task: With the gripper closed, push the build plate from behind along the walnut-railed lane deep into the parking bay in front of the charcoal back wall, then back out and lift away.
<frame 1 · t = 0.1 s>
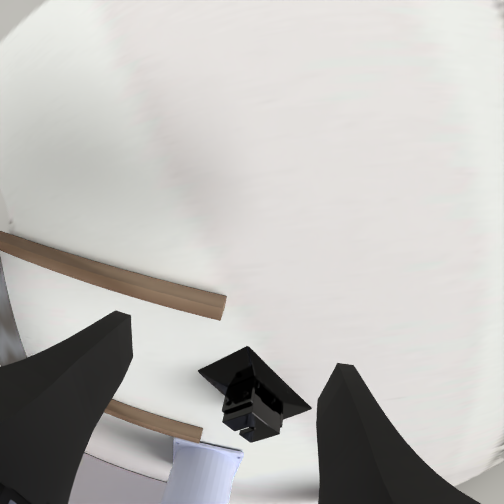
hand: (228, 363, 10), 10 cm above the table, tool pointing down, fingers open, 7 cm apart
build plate: (257, 386, 25), on the table
game console: (146, 479, 37), on the table
parking bay: (92, 344, 24), on the table
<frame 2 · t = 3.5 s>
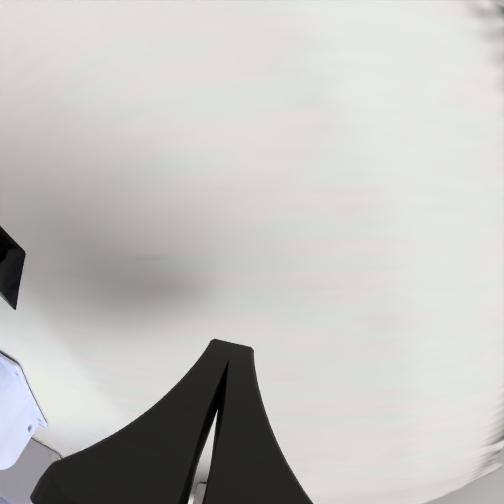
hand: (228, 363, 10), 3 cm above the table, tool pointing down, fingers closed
coffee box: (255, 493, 21), on the table
game console: (5, 425, 26), on the table
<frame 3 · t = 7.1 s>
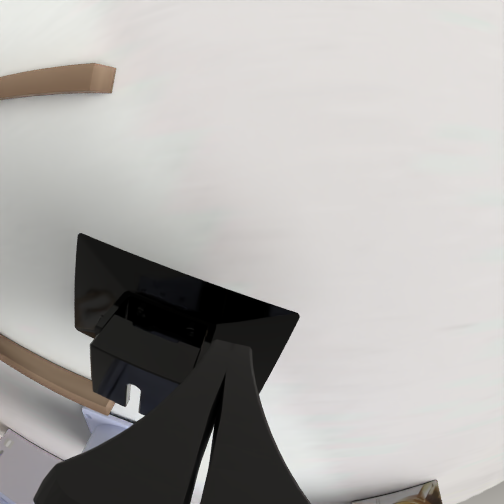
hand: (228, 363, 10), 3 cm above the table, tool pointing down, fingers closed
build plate: (172, 318, 14), on the table, touching gripper
coffee box: (392, 498, 21), on the table
game console: (87, 475, 26), on the table
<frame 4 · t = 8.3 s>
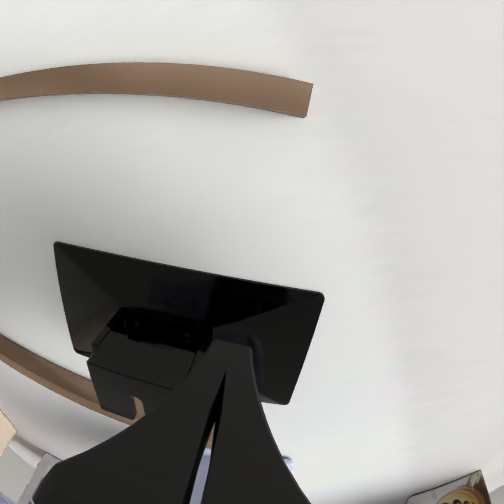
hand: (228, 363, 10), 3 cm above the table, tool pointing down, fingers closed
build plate: (173, 327, 14), on the table, touching gripper
coffee box: (441, 490, 21), on the table
game console: (138, 496, 26), on the table
parking bay: (35, 257, 13), on the table
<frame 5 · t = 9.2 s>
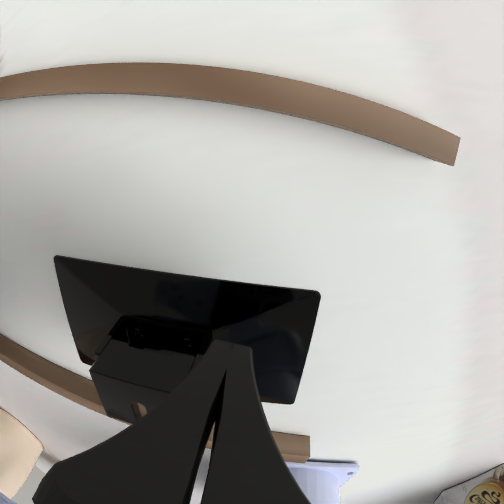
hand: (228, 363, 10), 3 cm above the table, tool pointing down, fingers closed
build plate: (174, 333, 14), on the table
coffee box: (468, 484, 21), on the table
water bottle: (20, 427, 24), on the table
parking bay: (112, 282, 13), on the table
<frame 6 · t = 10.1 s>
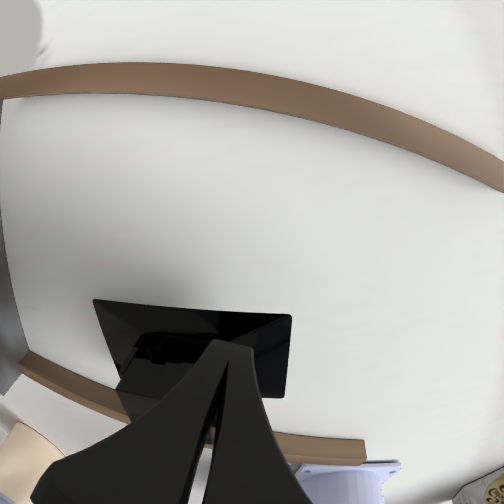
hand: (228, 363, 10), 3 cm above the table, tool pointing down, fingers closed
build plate: (194, 346, 14), on the table
coffee box: (485, 479, 21), on the table
water bottle: (42, 441, 24), on the table
parking bay: (189, 304, 13), on the table
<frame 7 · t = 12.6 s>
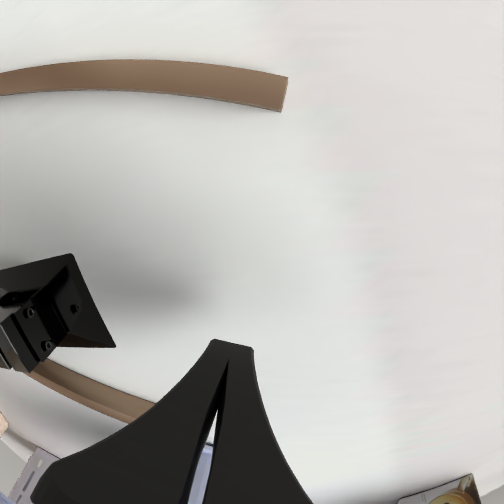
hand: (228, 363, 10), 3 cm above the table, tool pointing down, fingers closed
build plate: (46, 301, 15), on the table
coffee box: (432, 493, 21), on the table
game console: (128, 491, 26), on the table
parking bay: (24, 250, 13), on the table
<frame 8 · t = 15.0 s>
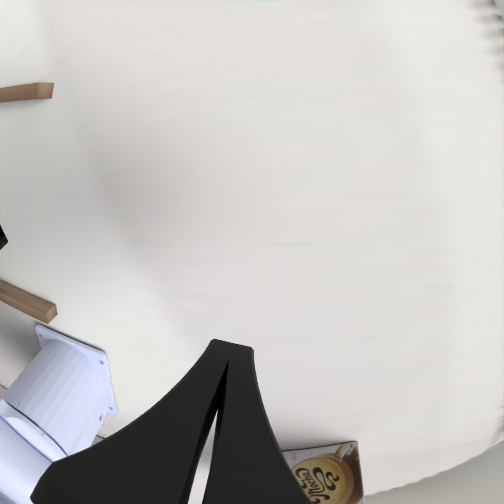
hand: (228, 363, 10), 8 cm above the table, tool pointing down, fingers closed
coffee box: (316, 458, 26), on the table
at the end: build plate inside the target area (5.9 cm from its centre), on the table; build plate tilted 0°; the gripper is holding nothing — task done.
